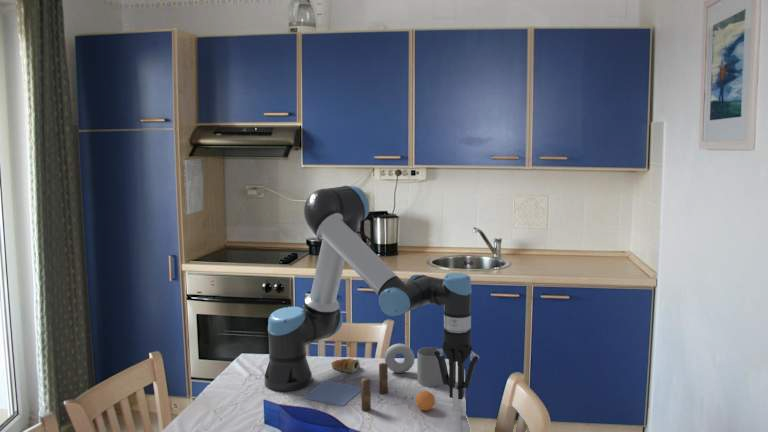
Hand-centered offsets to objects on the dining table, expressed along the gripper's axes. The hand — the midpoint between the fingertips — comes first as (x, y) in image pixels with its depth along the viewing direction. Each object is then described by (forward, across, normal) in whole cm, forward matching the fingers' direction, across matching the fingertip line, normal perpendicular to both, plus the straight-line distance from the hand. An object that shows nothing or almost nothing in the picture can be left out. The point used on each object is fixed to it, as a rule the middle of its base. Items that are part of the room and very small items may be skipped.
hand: (456, 408), depth 188 cm
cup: (+2, -15, +20) cm, 25 cm away
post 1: (+2, -26, -6) cm, 26 cm away
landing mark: (+2, -40, 0) cm, 40 cm away
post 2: (+2, -26, +6) cm, 26 cm away
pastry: (+2, -45, +19) cm, 49 cm away
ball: (-1, -10, 0) cm, 10 cm away
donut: (+2, -27, +23) cm, 36 cm away
